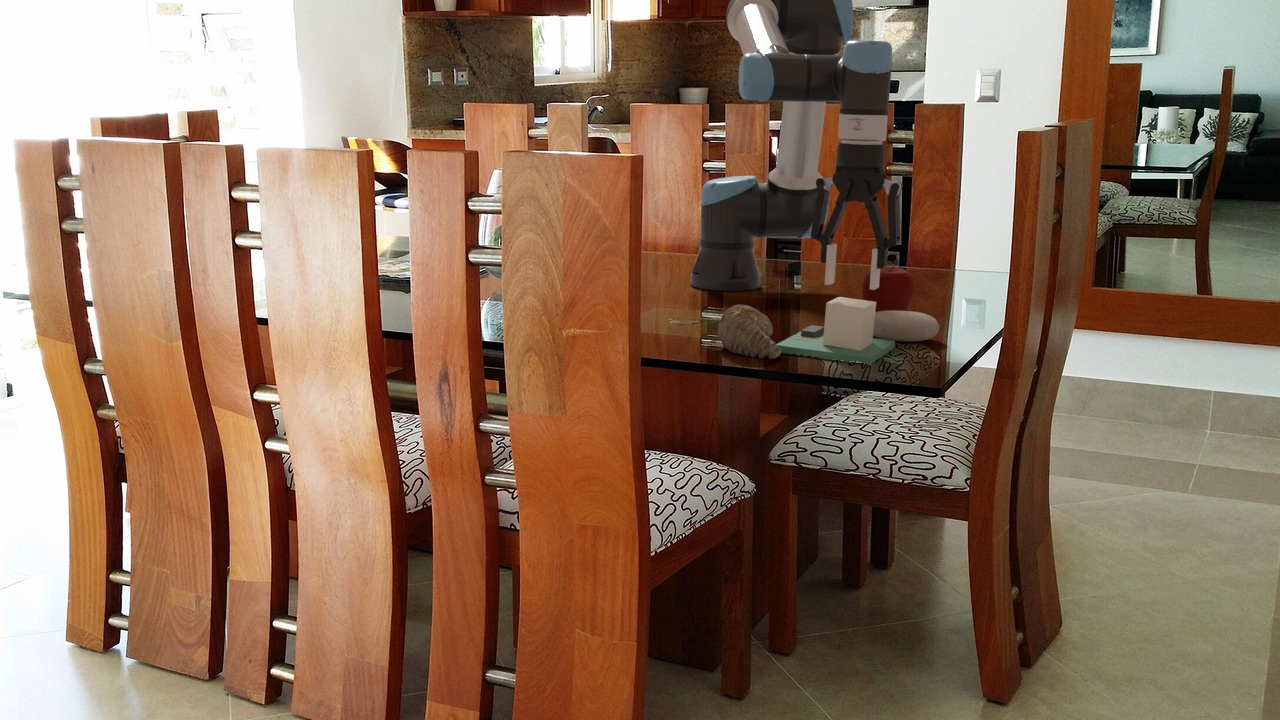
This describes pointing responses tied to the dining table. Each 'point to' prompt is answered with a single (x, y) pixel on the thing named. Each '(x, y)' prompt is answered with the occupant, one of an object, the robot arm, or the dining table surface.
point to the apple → (890, 289)
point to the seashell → (747, 332)
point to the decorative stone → (904, 326)
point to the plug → (849, 323)
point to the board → (832, 347)
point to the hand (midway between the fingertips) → (851, 285)
